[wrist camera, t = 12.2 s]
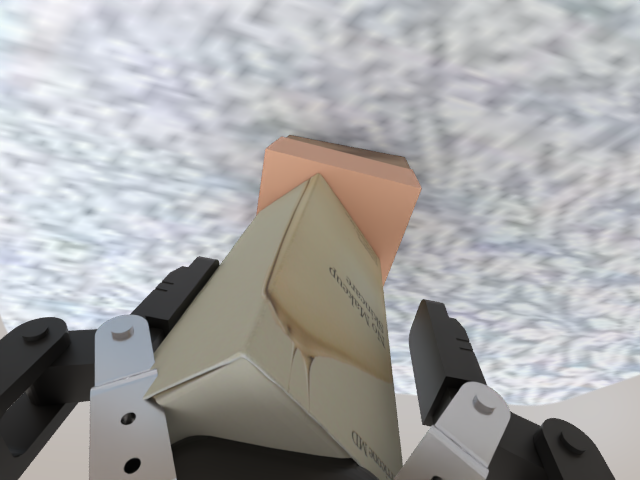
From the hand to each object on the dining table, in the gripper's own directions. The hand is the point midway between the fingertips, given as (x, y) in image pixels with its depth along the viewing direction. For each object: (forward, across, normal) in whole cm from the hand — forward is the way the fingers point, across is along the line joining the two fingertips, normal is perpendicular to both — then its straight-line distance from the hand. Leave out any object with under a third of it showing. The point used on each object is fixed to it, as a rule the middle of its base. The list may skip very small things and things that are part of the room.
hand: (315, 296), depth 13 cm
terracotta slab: (+9, 0, 0) cm, 9 cm away
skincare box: (+6, +1, 0) cm, 6 cm away
